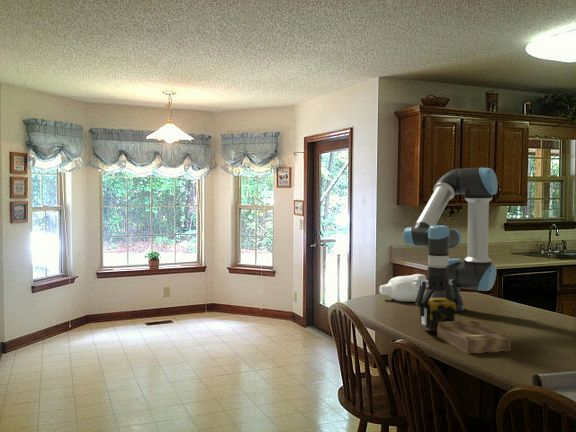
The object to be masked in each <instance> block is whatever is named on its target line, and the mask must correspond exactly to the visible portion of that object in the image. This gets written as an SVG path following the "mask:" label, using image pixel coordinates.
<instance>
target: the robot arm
mask: <svg viewBox="0 0 576 432" xmlns="http://www.w3.org/2000/svg"><path fill="white" fill-rule="evenodd" d="M498 188H499V185H498V179H497V175H496V173H495V171H494V169H492V168H490V167H469V168H467V167H465V168H454V169H452V170H450V171H448V172H446V173H444V175H442V176H441V177H440V178H439V179H438V180H437V181H436V183H435V185H434V186H433V189H432V190H433V192H432V194H431V196H430V197H429V199H428V201H427V203H426V205H425V206H424V208H423V210H422V212H421V214H420V215H419V217H418V219H417V221H416V222H415V224H414V226H408V227H405V229H404V230H403V235H402V239H403V242H404V244H405V245H407V246H414V247H427V251H428V252H427V265H428V266H427V278H426V280H427V281H422V280H421V281H420V288H419V291H418V295H417V298H416V301H415V302H414V306H415V307H418V308H419V317H420V316H422V321H421V323H420V324H421V325H422V324H423V325H422V326H424V325H425V326H427V308H425V306H426V304H427V303H428V301H429V299H430V298H446V299H448V300H450V301H452V302H454V303H456V309H455V313H457V312H463V311H464V310H465V309H464V308H465V307H464V306H465V305H464V301H463V299H462V295H461V289H465V290H466V289H468V290H474V291H475V290H476V291H479V292H480V291H483V292H486V291H490V290H491V289H492V288H493V286H494V284H495V282H496V277H497V267H496V265H495V264H493V263H492V260H493V259H491V258H490V257H489V211H490V204H489V203H490V201H492V200H493V199H494V197H493V195H496V194H497V192H498ZM455 195H456V196H457V195H464V200H465V201H466V202H467V255H466V256H465V257H464V258H463V261H462V259H461V258H449V256H450V255H449V252H450V250H449V249H454V248H456V247H458V246H459V245H460V244H461V243H462V240H463V238H462V237H463V235H462V234H461V232H460V231H459V230H458V229H457V228H449V226H448V225H442V224H441V225H439V224H438V222H439V220H440V218H441V216H442V214H443V212H444V211H445V208H446V206H447V205H448V203H449V201H450V200H452V199H453V198H454V197H455ZM427 284H428V285H429V286H428V287H426V286H427ZM425 289H426V291H427V292H426V294H425V295H424V292H425ZM423 296H424V297H423ZM425 326H424V327H425Z"/></svg>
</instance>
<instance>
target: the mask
mask: <svg viewBox="0 0 576 432" xmlns="http://www.w3.org/2000/svg"><path fill="white" fill-rule="evenodd" d="M421 280H422V281H427V276H426V275H425V274H421V273H414V274H411V275H400V276H399V275H398V276H395V277H391V279H389V280H388V283H385V284H382V285H379V289H378V292H379V294H380V295H382V296H388V297H390V298H391V300H392V299H393V301H397V302H413V303H415V301H416V298H417V295H418V291H419V288H420V281H421ZM428 287H429V285H428V284H427V286H426V289H425V292H424V295H425V294H426V292H427V288H428ZM423 297H424V296H423Z"/></svg>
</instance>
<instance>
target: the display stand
mask: <svg viewBox="0 0 576 432" xmlns="http://www.w3.org/2000/svg"><path fill="white" fill-rule="evenodd" d="M511 335H512V334H510V333H506V332H505V333H497V332H495V331H493V330H491V329H489V328H486V327H483V326H481V325H480V321H479V320H478V319H477V320H475V319H474V320H455V321H450V322H438V326H437V331H436V337H437V338H439V339H440V340H442V341H444V342H446V343H447V344H449V345H451V346H453V347H454V346H455V348H456V349H458V350H460V351H462V352H463V353H466V354H469V355H470V354H483V353H484V352H488V353H500V352H499V351H505V352H511V349H512V347H511V346H512V345H511V344H512V339H511ZM484 354H485V353H484Z"/></svg>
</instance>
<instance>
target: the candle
mask: <svg viewBox="0 0 576 432" xmlns="http://www.w3.org/2000/svg"><path fill="white" fill-rule="evenodd" d="M425 308H427V326H425V325H423V324H421V321H422V316H420V315H419V317H420V318H419V319H420V320H419V321H420V322H419V323H420V324H421V325H422V326H424V327H425V328H427V329H428V330H430V331H434V330H437V326H438V322H450V321H456V312H455V309H456V303H454V302H452V301H450V300H448V299H446V298H432V297H430V299H429V301H428V303H427V304H426V306H425Z"/></svg>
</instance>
